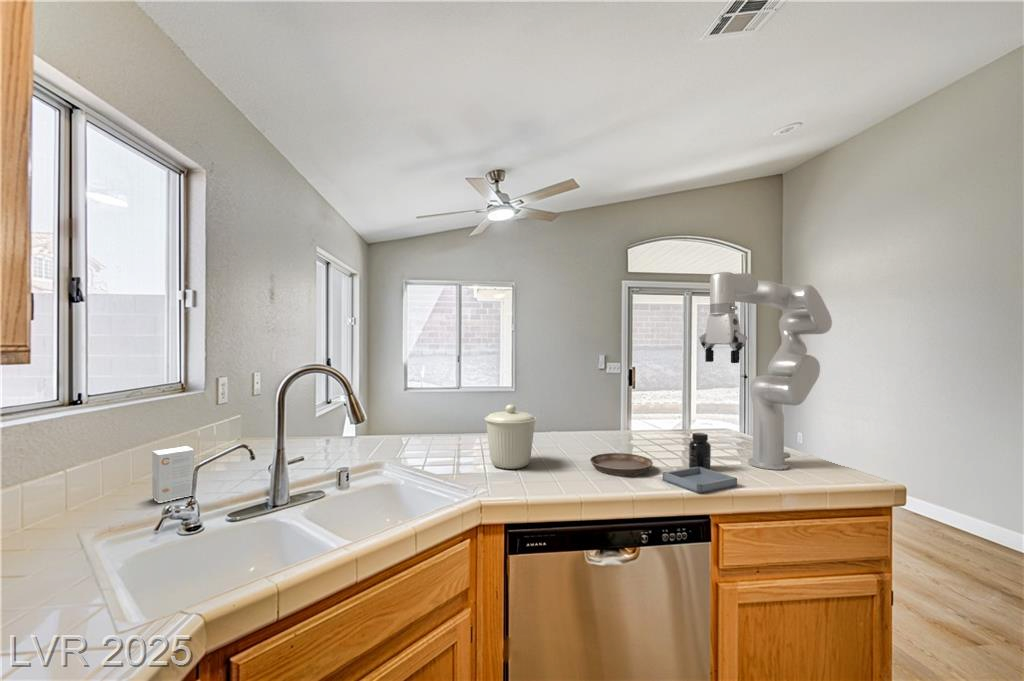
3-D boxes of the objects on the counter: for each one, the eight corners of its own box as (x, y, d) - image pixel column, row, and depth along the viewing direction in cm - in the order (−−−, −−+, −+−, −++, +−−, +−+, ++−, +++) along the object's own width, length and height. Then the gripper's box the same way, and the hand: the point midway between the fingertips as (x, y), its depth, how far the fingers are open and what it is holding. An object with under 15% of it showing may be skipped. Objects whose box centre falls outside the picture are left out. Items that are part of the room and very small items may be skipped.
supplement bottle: (712, 472, 151) (712, 436, 151) (690, 471, 152) (691, 435, 152) (708, 467, 158) (708, 432, 158) (687, 466, 159) (687, 431, 159)
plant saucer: (589, 476, 146) (589, 466, 146) (590, 460, 167) (590, 451, 167) (656, 480, 143) (656, 470, 143) (648, 463, 163) (648, 454, 163)
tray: (698, 474, 149) (698, 466, 149) (737, 486, 137) (737, 478, 137) (662, 480, 142) (662, 472, 142) (699, 494, 129) (699, 485, 129)
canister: (545, 463, 161) (546, 403, 161) (518, 476, 146) (519, 410, 146) (503, 456, 171) (503, 400, 171) (473, 467, 155) (474, 405, 155)
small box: (187, 491, 128) (187, 445, 128) (194, 496, 124) (194, 449, 124) (151, 499, 122) (151, 450, 122) (157, 504, 118) (158, 454, 118)
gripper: (754, 309, 144) (753, 363, 144) (708, 312, 159) (707, 361, 159) (738, 308, 140) (737, 363, 140) (692, 311, 156) (692, 361, 156)
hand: (721, 362), depth 150 cm, fingers open, 9 cm apart
